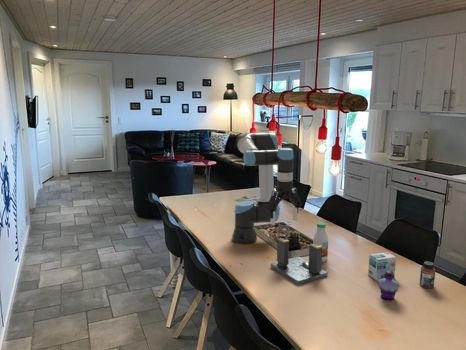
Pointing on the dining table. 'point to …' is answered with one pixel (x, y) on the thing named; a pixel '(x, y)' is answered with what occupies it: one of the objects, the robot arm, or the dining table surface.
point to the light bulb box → (381, 265)
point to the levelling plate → (298, 271)
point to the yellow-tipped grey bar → (282, 252)
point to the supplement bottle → (427, 275)
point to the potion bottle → (388, 286)
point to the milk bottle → (321, 239)
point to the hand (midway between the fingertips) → (283, 222)
